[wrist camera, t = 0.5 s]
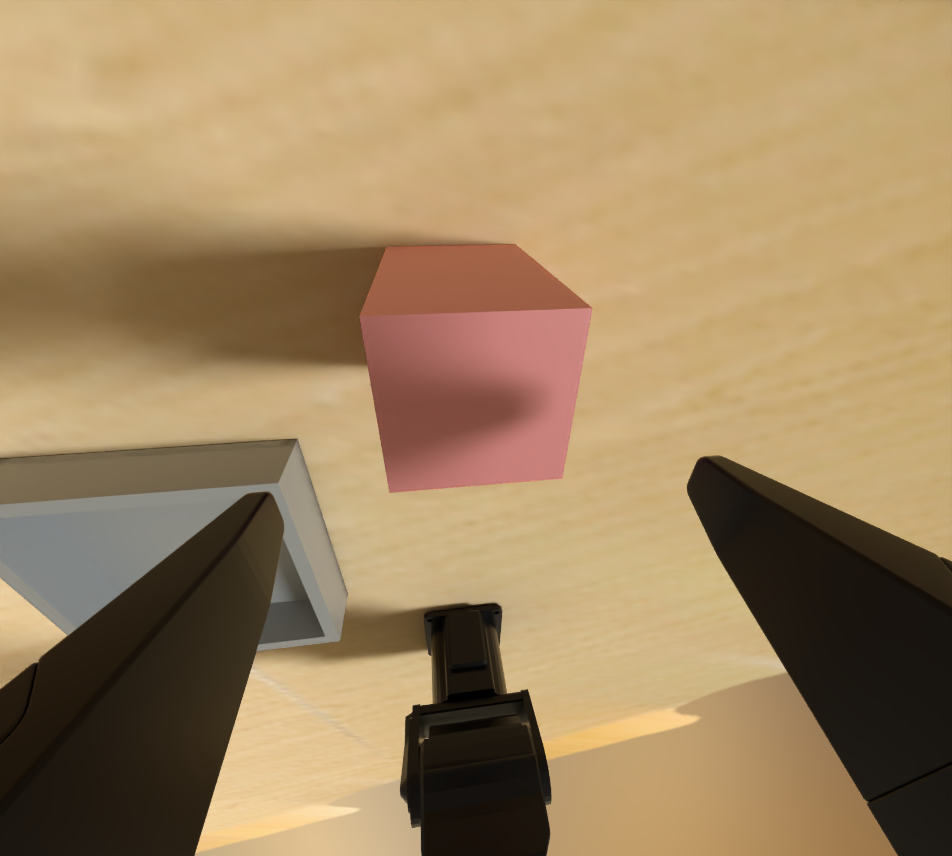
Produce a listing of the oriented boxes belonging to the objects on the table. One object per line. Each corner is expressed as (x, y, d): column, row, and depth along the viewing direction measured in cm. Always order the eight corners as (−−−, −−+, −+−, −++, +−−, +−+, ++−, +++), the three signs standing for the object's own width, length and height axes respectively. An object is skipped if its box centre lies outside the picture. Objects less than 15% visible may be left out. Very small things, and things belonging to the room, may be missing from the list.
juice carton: (508, 361, 20) (562, 478, 12) (400, 366, 19) (389, 492, 12) (515, 244, 17) (592, 307, 9) (386, 246, 16) (359, 316, 9)
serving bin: (347, 594, 29) (340, 641, 26) (139, 616, 28) (107, 669, 25) (297, 439, 21) (278, 482, 18) (-5, 459, 19) (-79, 510, 16)
